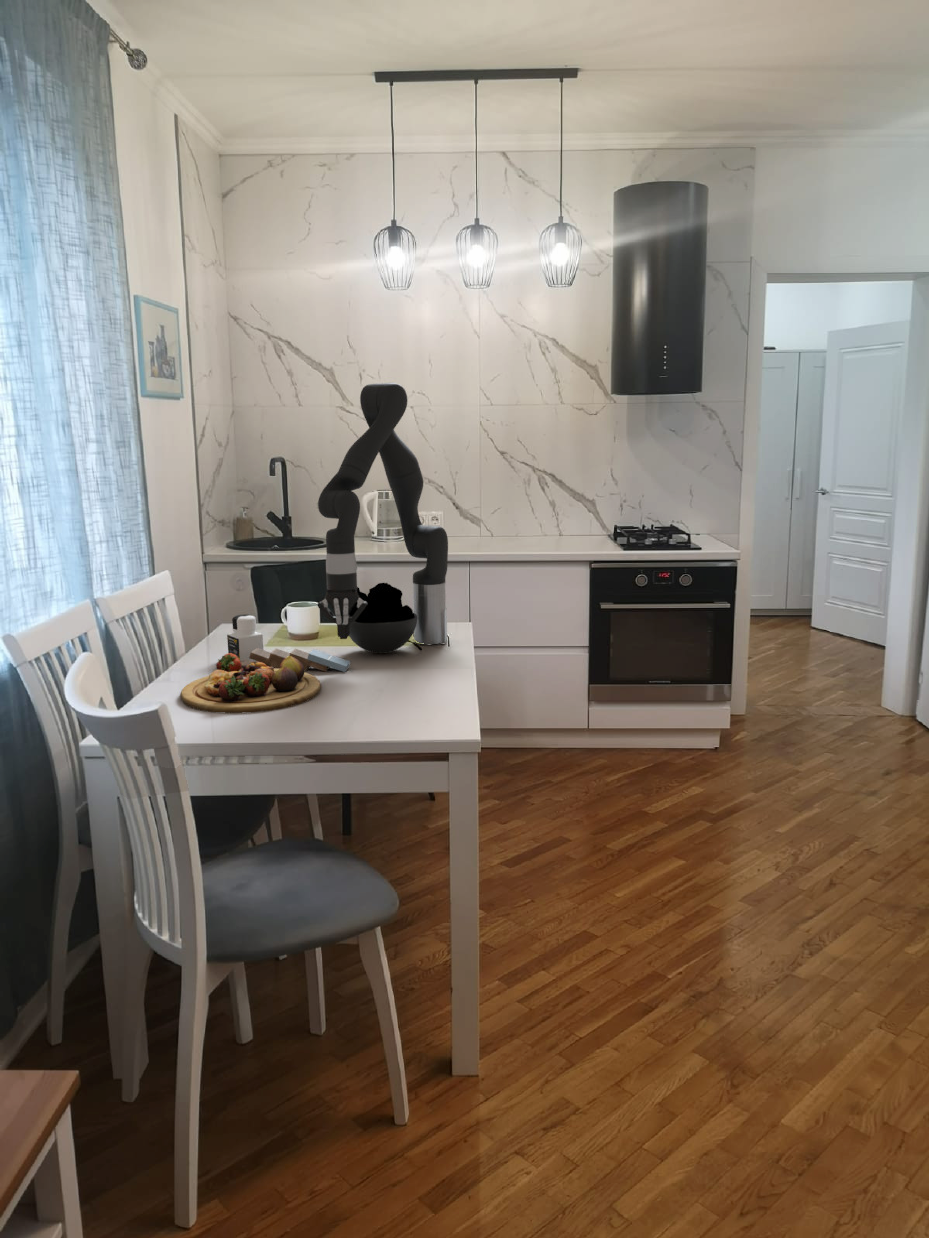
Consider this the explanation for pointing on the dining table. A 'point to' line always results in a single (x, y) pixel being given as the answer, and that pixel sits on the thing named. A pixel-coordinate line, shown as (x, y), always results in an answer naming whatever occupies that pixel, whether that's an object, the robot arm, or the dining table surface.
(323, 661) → the tile
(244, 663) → the brown wooden block
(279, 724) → the dining table surface
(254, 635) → the medicine bottle
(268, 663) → the tile
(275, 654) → the tile
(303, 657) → the tile
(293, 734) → the dining table surface
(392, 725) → the dining table surface
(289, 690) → the wooden plate with food
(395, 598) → the bowl of black rocks
